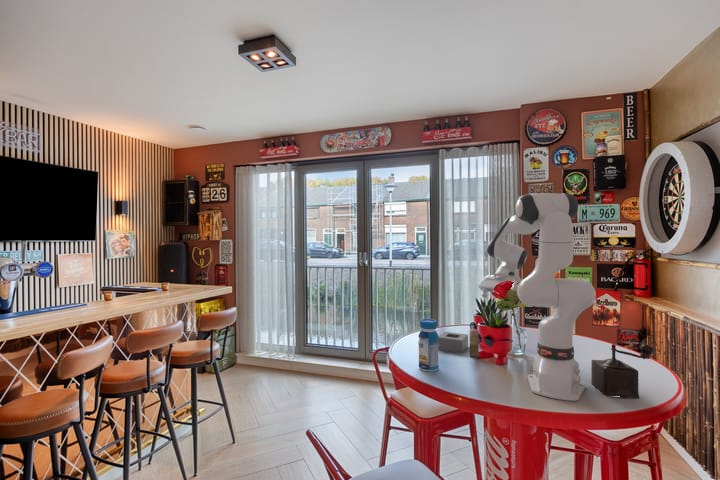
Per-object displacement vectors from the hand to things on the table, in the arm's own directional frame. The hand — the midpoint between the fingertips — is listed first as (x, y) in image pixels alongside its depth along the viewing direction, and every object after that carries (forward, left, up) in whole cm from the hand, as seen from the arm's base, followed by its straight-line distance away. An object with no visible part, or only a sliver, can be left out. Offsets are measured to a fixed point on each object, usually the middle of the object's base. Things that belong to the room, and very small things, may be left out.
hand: (491, 298), depth 169 cm
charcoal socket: (-4, +18, -25) cm, 31 cm away
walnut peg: (-12, +6, -26) cm, 29 cm away
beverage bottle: (-37, +19, -26) cm, 48 cm away
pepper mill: (-25, -48, -26) cm, 60 cm away
